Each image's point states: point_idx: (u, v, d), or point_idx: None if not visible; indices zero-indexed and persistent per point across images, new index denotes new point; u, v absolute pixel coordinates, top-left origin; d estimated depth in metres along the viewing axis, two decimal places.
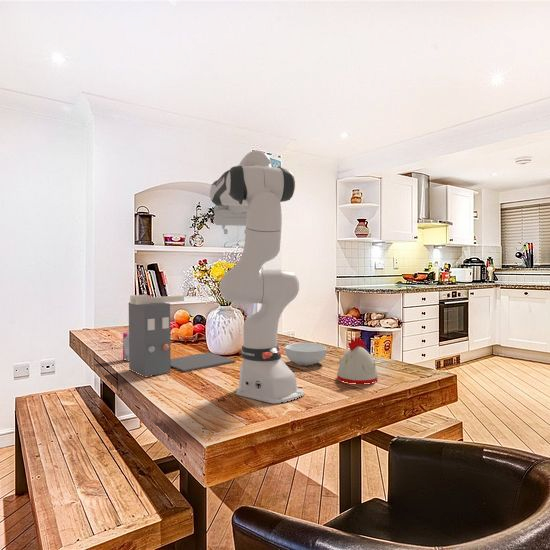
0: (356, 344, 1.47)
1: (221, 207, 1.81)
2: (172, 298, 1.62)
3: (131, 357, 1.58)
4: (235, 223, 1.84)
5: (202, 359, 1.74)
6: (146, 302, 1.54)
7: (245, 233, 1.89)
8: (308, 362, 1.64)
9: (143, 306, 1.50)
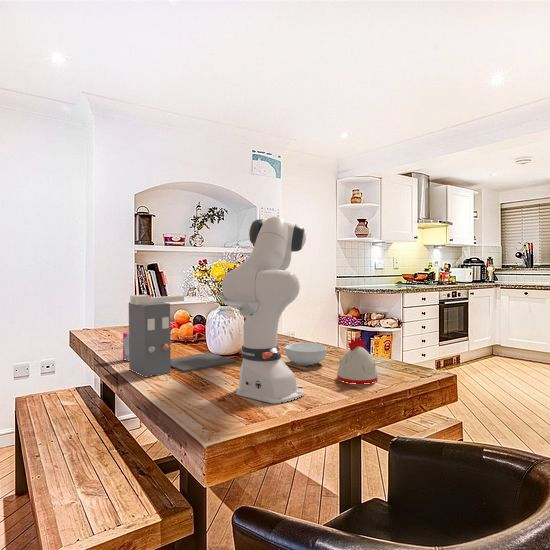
0: (356, 344, 1.47)
1: None
2: (172, 298, 1.62)
3: (131, 357, 1.58)
4: None
5: (202, 359, 1.74)
6: (146, 302, 1.54)
7: None
8: (308, 362, 1.64)
9: (143, 306, 1.50)
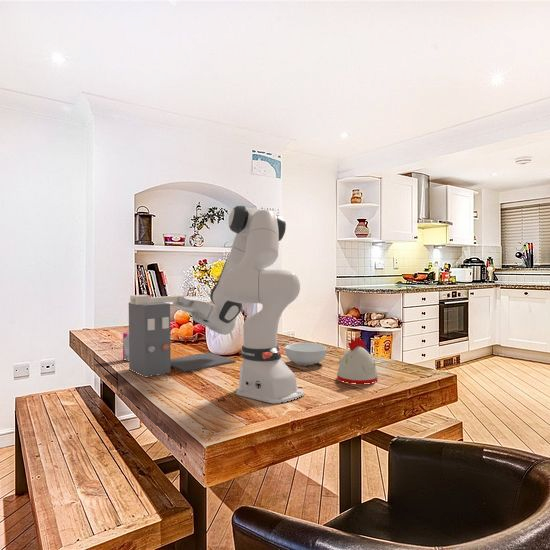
0: (356, 344, 1.47)
1: None
2: (172, 298, 1.62)
3: (131, 357, 1.58)
4: None
5: (202, 359, 1.74)
6: (146, 302, 1.54)
7: (180, 296, 1.64)
8: (308, 362, 1.64)
9: (143, 306, 1.50)
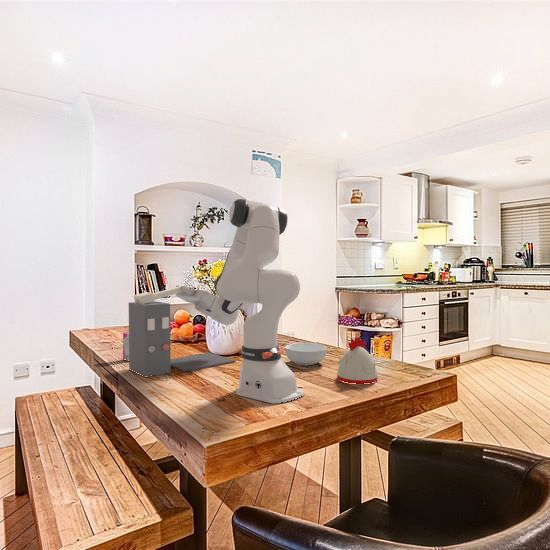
0: (356, 344, 1.47)
1: None
2: (175, 290, 1.63)
3: (131, 357, 1.58)
4: None
5: (202, 359, 1.74)
6: (150, 300, 1.55)
7: (183, 286, 1.65)
8: (308, 362, 1.64)
9: (143, 306, 1.50)
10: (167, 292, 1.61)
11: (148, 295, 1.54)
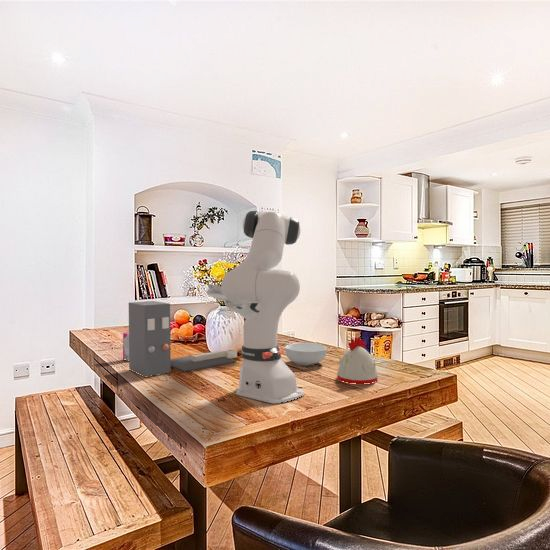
0: (356, 344, 1.47)
1: None
2: (205, 358, 1.74)
3: (131, 357, 1.58)
4: None
5: None
6: (230, 353, 1.80)
7: None
8: (308, 362, 1.64)
9: (143, 306, 1.50)
10: (212, 357, 1.76)
11: (231, 357, 1.80)
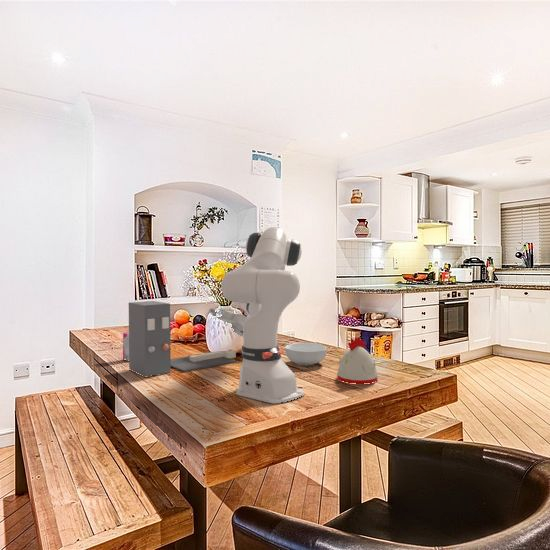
0: (356, 344, 1.47)
1: None
2: (203, 358, 1.73)
3: (131, 357, 1.58)
4: None
5: None
6: (228, 353, 1.79)
7: (223, 310, 1.76)
8: (308, 362, 1.64)
9: (143, 306, 1.50)
10: (211, 357, 1.75)
11: (229, 357, 1.80)
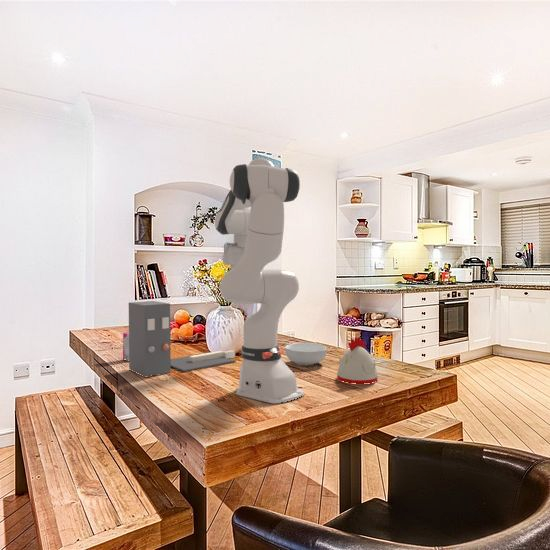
0: (356, 344, 1.47)
1: (231, 245, 1.72)
2: (203, 358, 1.73)
3: (131, 357, 1.58)
4: None
5: None
6: (228, 353, 1.79)
7: None
8: (308, 362, 1.64)
9: (143, 306, 1.50)
10: (210, 357, 1.75)
11: (229, 357, 1.80)
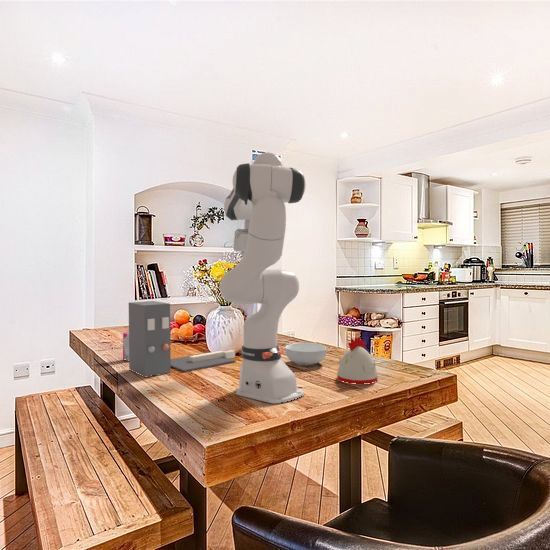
0: (356, 344, 1.47)
1: (241, 232, 1.69)
2: (203, 358, 1.73)
3: (131, 357, 1.58)
4: None
5: None
6: (228, 353, 1.79)
7: None
8: (308, 362, 1.64)
9: (143, 306, 1.50)
10: (210, 357, 1.75)
11: (229, 357, 1.80)
